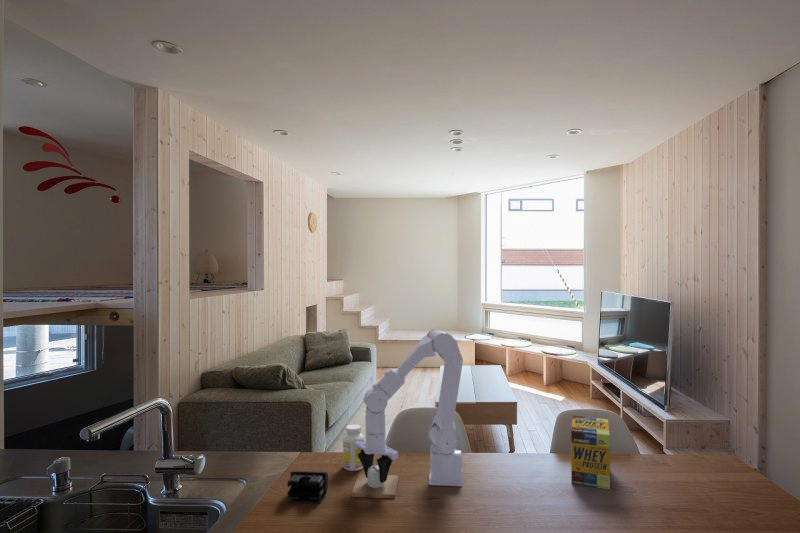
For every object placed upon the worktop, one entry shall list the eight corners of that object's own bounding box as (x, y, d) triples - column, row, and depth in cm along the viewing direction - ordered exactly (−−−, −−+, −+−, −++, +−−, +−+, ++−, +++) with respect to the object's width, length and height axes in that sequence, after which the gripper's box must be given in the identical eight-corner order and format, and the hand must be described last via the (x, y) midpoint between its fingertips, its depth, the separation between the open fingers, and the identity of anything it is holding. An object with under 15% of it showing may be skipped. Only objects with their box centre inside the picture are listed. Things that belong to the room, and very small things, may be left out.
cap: (365, 482, 138) (365, 465, 138) (380, 479, 140) (380, 463, 140) (371, 488, 134) (371, 472, 134) (386, 485, 135) (386, 469, 135)
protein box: (571, 484, 137) (570, 430, 137) (573, 463, 151) (572, 414, 151) (610, 490, 133) (610, 435, 133) (609, 468, 148) (608, 418, 148)
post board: (399, 478, 142) (398, 467, 142) (394, 498, 130) (394, 485, 130) (359, 477, 143) (359, 466, 143) (351, 496, 131) (351, 484, 131)
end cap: (328, 491, 134) (328, 467, 134) (322, 504, 127) (321, 479, 127) (294, 490, 135) (293, 467, 135) (285, 503, 128) (285, 478, 128)
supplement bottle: (366, 463, 153) (365, 423, 153) (362, 472, 147) (362, 430, 147) (345, 462, 154) (345, 423, 154) (341, 471, 147) (340, 430, 147)
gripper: (347, 430, 138) (347, 477, 138) (387, 441, 129) (387, 491, 129) (363, 424, 143) (363, 469, 143) (402, 433, 135) (402, 481, 135)
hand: (376, 479), depth 137 cm, fingers closed on cap, 5 cm apart
